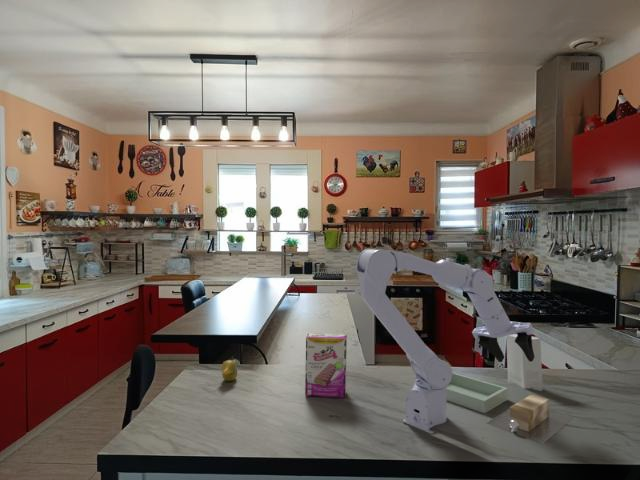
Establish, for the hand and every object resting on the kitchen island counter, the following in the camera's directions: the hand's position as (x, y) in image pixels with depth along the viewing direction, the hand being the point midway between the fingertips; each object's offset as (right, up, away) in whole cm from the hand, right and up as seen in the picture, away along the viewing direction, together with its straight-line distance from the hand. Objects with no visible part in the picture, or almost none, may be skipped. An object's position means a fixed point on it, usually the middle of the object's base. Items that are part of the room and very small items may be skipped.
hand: (516, 359), depth 97 cm
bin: (-10, -13, +9) cm, 19 cm away
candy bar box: (-47, -14, +12) cm, 50 cm away
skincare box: (+11, -14, +18) cm, 25 cm away
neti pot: (-76, -13, +22) cm, 80 cm away
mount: (0, -14, -6) cm, 15 cm away
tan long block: (0, -13, -6) cm, 14 cm away
